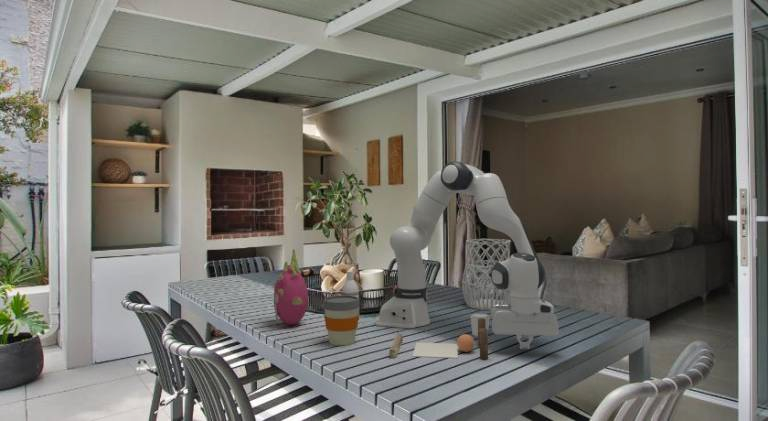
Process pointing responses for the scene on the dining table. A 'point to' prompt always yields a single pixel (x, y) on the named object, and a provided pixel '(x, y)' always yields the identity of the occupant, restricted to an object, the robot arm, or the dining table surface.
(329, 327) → the reusable coffee cup
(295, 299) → the pink dragon fruit
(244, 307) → the dining table surface
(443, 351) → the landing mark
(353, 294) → the bath foam
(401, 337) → the stopper rail
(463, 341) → the ball
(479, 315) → the shot glass
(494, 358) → the dining table surface
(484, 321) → the post
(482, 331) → the post
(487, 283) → the vase
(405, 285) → the robot arm
